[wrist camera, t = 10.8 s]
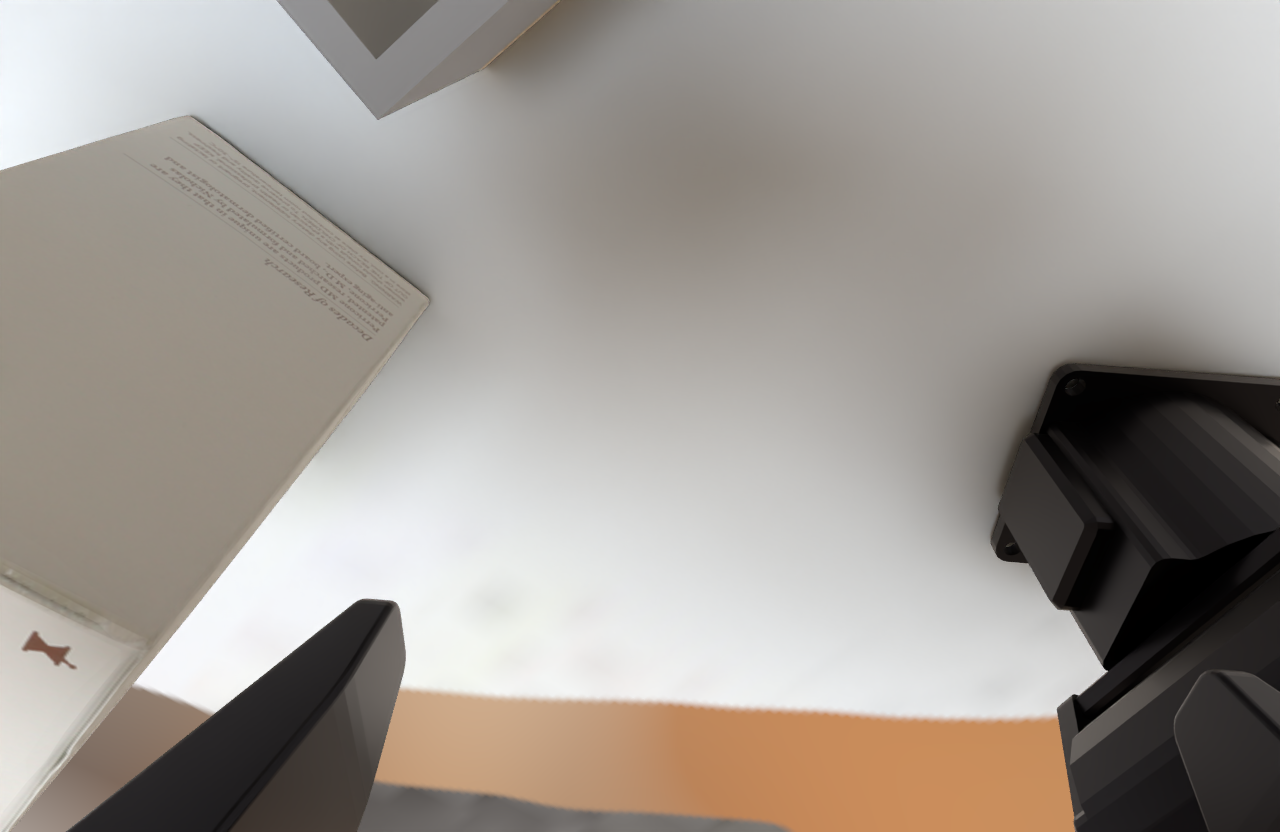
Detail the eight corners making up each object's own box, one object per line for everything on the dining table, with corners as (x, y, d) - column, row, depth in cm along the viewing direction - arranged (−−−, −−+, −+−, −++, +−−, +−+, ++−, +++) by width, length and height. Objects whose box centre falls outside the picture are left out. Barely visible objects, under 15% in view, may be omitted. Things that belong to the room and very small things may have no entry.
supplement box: (187, 102, 19) (-523, 290, 8) (439, 299, 21) (163, 663, 10) (75, 310, 22) (-554, 658, 11) (305, 463, 24) (-19, 881, 13)
